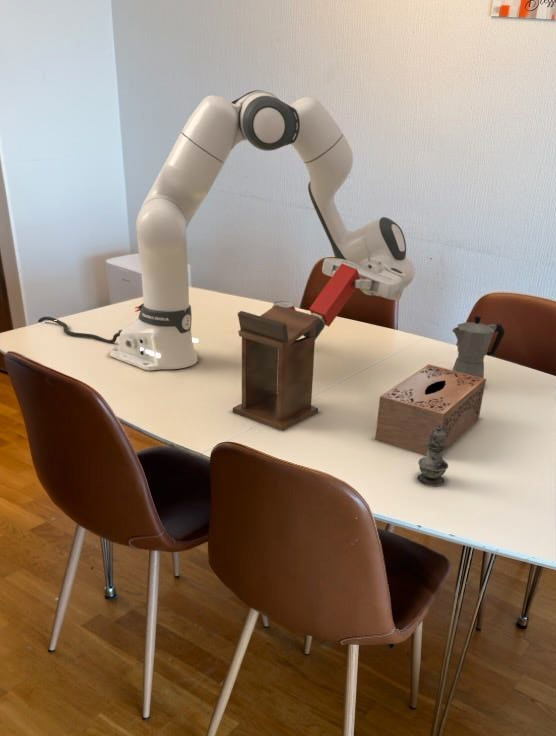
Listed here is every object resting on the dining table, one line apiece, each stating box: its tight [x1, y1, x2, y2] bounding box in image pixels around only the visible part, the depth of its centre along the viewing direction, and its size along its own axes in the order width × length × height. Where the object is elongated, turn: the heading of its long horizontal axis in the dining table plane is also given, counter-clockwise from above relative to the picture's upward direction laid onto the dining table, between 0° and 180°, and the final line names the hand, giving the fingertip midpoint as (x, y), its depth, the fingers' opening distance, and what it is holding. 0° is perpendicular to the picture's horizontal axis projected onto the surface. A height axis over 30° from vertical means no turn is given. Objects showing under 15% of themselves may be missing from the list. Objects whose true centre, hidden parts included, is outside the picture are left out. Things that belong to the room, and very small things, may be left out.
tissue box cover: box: [374, 363, 487, 456], centre depth 159 cm, size 26×14×10 cm, turn 151°
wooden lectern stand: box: [232, 305, 320, 432], centre depth 156 cm, size 14×14×23 cm
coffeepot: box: [452, 315, 506, 378], centre depth 184 cm, size 15×9×18 cm, turn 113°
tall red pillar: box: [303, 264, 360, 341], centre depth 165 cm, size 20×4×9 cm, turn 144°
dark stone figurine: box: [417, 424, 449, 487], centre depth 137 cm, size 6×6×12 cm
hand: (344, 279), depth 166 cm, fingers closed on tall red pillar, 4 cm apart
